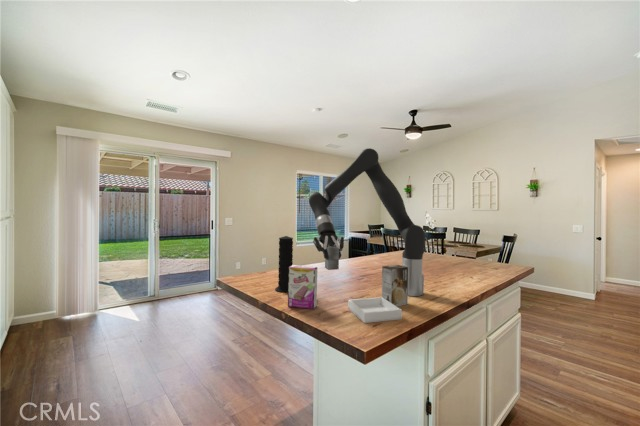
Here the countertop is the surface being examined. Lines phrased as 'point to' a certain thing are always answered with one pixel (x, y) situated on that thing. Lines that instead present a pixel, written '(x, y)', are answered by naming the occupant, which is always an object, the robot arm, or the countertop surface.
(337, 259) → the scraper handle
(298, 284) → the candy bar box
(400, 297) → the coffee box
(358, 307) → the tray
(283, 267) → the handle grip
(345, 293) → the countertop surface
